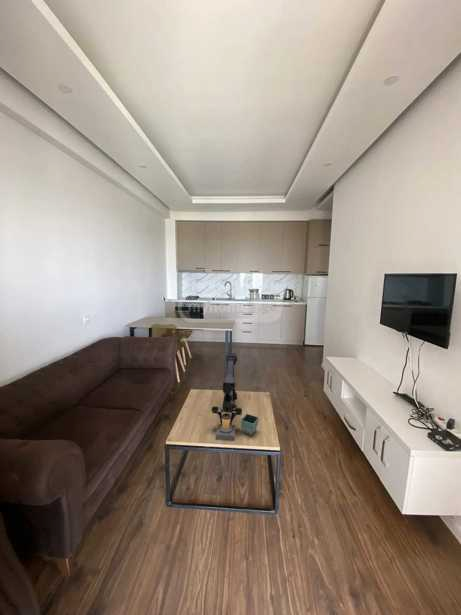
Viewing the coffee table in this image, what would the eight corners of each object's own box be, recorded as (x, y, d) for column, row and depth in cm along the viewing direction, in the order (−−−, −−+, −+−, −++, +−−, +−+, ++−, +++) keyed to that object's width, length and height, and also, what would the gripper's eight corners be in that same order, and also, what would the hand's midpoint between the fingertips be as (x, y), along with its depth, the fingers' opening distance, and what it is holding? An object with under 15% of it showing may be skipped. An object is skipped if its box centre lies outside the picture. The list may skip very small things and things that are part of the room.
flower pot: (258, 430, 160) (259, 417, 159) (253, 438, 152) (253, 424, 151) (246, 426, 164) (246, 413, 163) (240, 433, 156) (240, 420, 155)
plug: (226, 429, 160) (227, 411, 159) (234, 434, 155) (234, 416, 153) (217, 433, 156) (217, 415, 154) (224, 439, 150) (225, 420, 149)
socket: (218, 428, 161) (218, 423, 161) (235, 429, 160) (235, 424, 160) (215, 439, 150) (215, 434, 150) (234, 440, 150) (234, 435, 149)
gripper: (212, 394, 157) (209, 421, 148) (242, 396, 156) (241, 423, 146) (214, 400, 166) (211, 425, 156) (242, 401, 164) (241, 427, 155)
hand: (225, 425), depth 153 cm, fingers closed on plug, 5 cm apart
